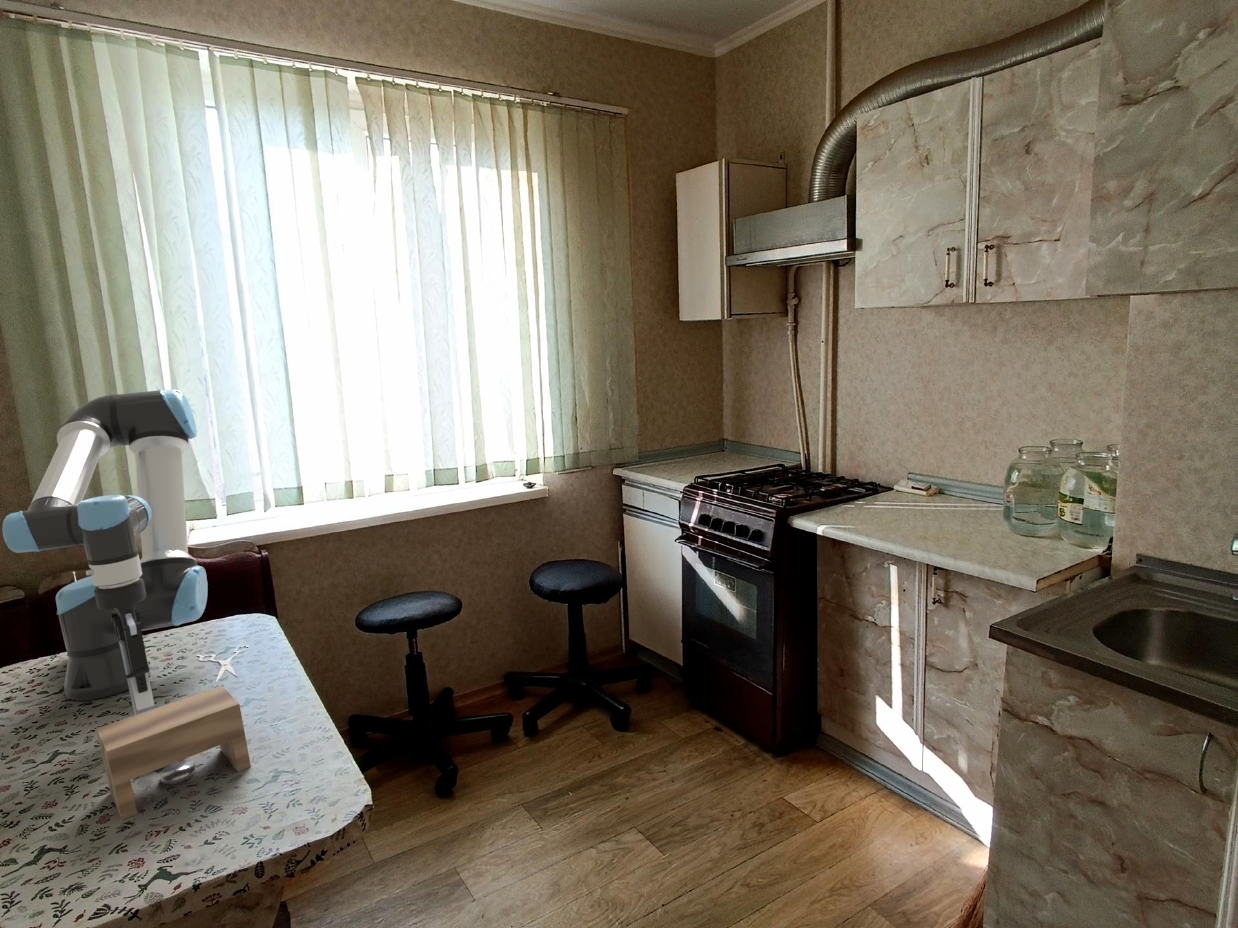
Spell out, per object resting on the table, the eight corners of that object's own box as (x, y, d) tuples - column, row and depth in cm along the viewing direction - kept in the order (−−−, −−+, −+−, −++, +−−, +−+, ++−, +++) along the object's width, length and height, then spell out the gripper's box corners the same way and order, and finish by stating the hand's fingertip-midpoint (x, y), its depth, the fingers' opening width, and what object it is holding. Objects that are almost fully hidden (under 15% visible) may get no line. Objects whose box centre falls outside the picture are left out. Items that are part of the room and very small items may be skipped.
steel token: (158, 777, 123) (156, 769, 123) (192, 764, 126) (190, 756, 126) (165, 789, 119) (163, 781, 119) (200, 775, 122) (198, 767, 122)
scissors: (247, 642, 177) (254, 670, 160) (248, 645, 177) (255, 674, 160) (196, 655, 172) (197, 686, 155) (197, 658, 172) (198, 689, 155)
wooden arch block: (110, 792, 119) (96, 728, 117) (233, 744, 131) (221, 685, 129) (121, 819, 112) (106, 751, 110) (250, 766, 123) (239, 703, 121)
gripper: (86, 579, 139) (112, 698, 143) (100, 597, 127) (128, 726, 131) (134, 568, 144) (157, 684, 148) (151, 584, 132) (176, 709, 136)
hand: (143, 703), depth 139 cm, fingers closed on push tool, 3 cm apart
